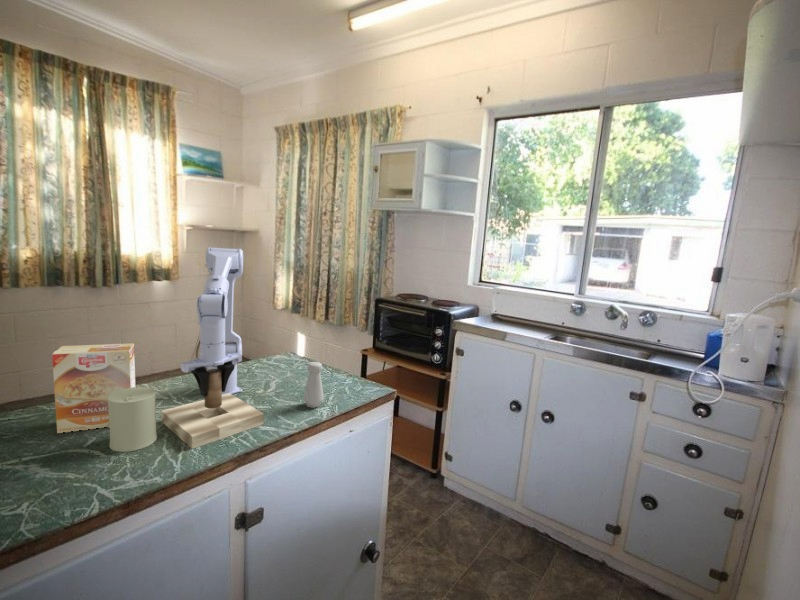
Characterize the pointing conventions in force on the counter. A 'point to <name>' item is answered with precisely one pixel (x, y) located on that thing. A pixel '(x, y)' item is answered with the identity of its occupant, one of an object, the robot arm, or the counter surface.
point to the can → (132, 419)
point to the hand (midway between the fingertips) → (213, 393)
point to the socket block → (211, 420)
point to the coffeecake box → (89, 383)
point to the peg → (214, 389)
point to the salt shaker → (314, 386)
